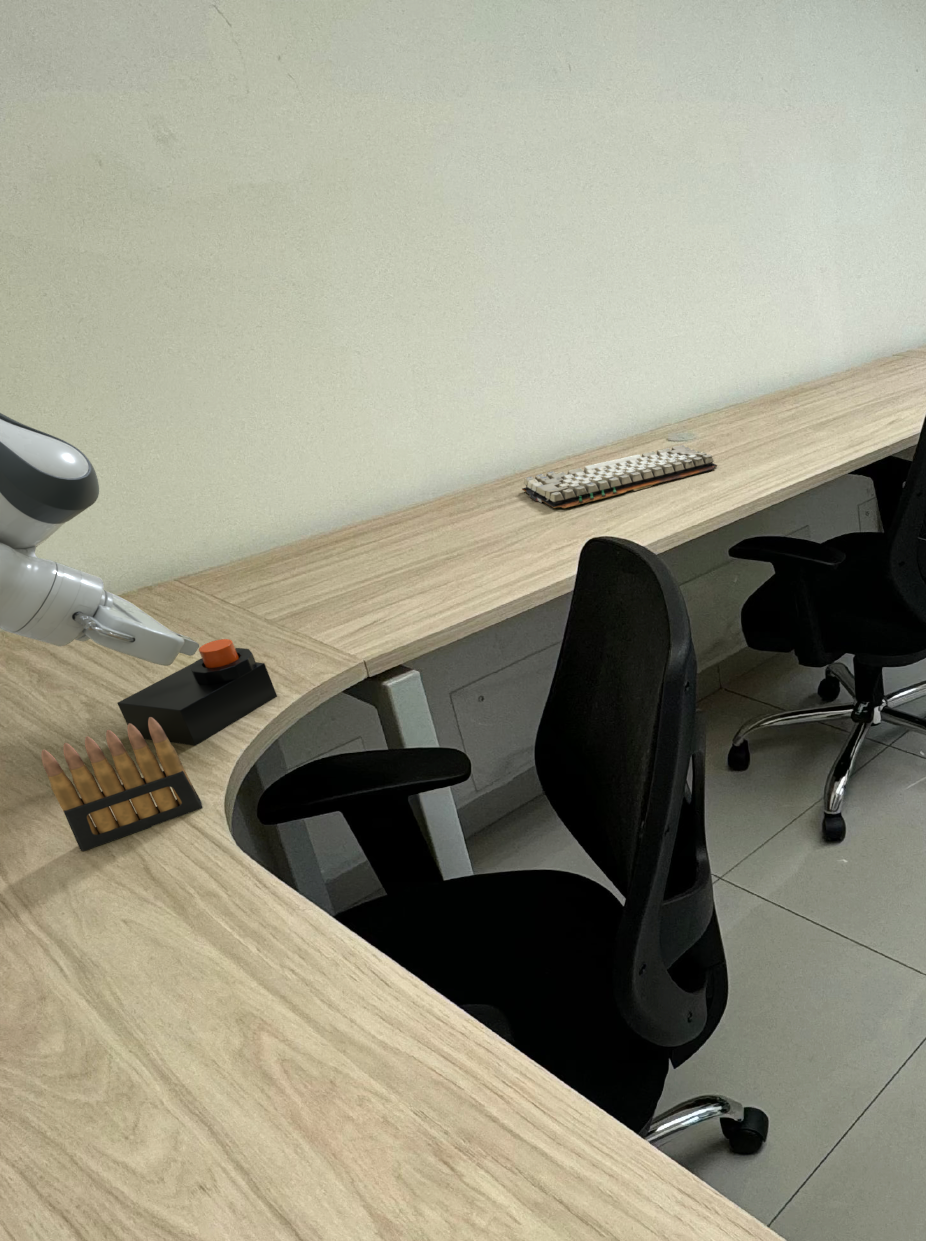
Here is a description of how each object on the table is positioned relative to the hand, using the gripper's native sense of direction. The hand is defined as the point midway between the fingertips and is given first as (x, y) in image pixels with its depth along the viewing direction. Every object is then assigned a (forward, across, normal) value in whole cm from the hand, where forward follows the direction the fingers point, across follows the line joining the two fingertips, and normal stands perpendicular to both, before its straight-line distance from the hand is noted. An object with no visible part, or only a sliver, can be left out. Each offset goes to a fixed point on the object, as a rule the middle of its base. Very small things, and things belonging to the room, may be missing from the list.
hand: (192, 647), depth 124 cm
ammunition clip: (-3, -20, +17) cm, 26 cm away
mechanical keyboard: (+70, +38, -56) cm, 97 cm away
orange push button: (+4, +1, +1) cm, 4 cm away
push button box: (+6, +1, +8) cm, 10 cm away
